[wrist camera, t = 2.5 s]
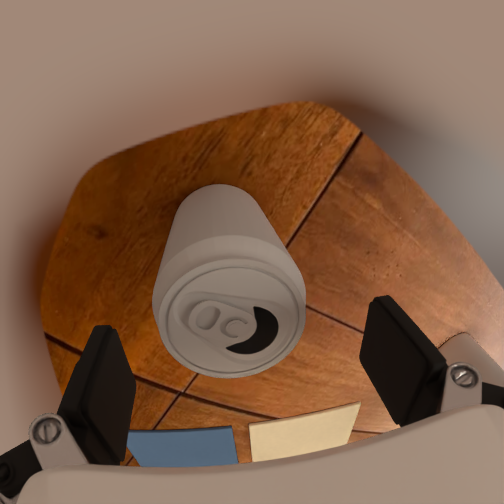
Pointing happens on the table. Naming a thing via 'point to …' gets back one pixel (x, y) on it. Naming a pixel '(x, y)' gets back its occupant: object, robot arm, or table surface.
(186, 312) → the beverage can
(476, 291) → the table surface
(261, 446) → the cream mat
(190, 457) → the blue mat
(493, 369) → the mug
